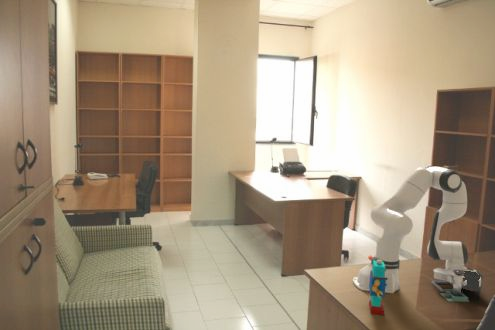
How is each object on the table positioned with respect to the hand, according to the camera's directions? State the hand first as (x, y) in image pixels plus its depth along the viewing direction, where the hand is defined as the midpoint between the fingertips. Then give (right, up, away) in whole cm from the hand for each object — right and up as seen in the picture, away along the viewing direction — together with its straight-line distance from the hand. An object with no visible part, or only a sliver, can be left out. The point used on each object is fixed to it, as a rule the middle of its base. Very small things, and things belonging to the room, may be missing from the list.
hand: (457, 283), depth 192 cm
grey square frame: (+1, -7, +13) cm, 15 cm away
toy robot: (-42, -8, -12) cm, 45 cm away
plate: (-1, -8, +2) cm, 8 cm away
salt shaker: (0, -6, +2) cm, 7 cm away
